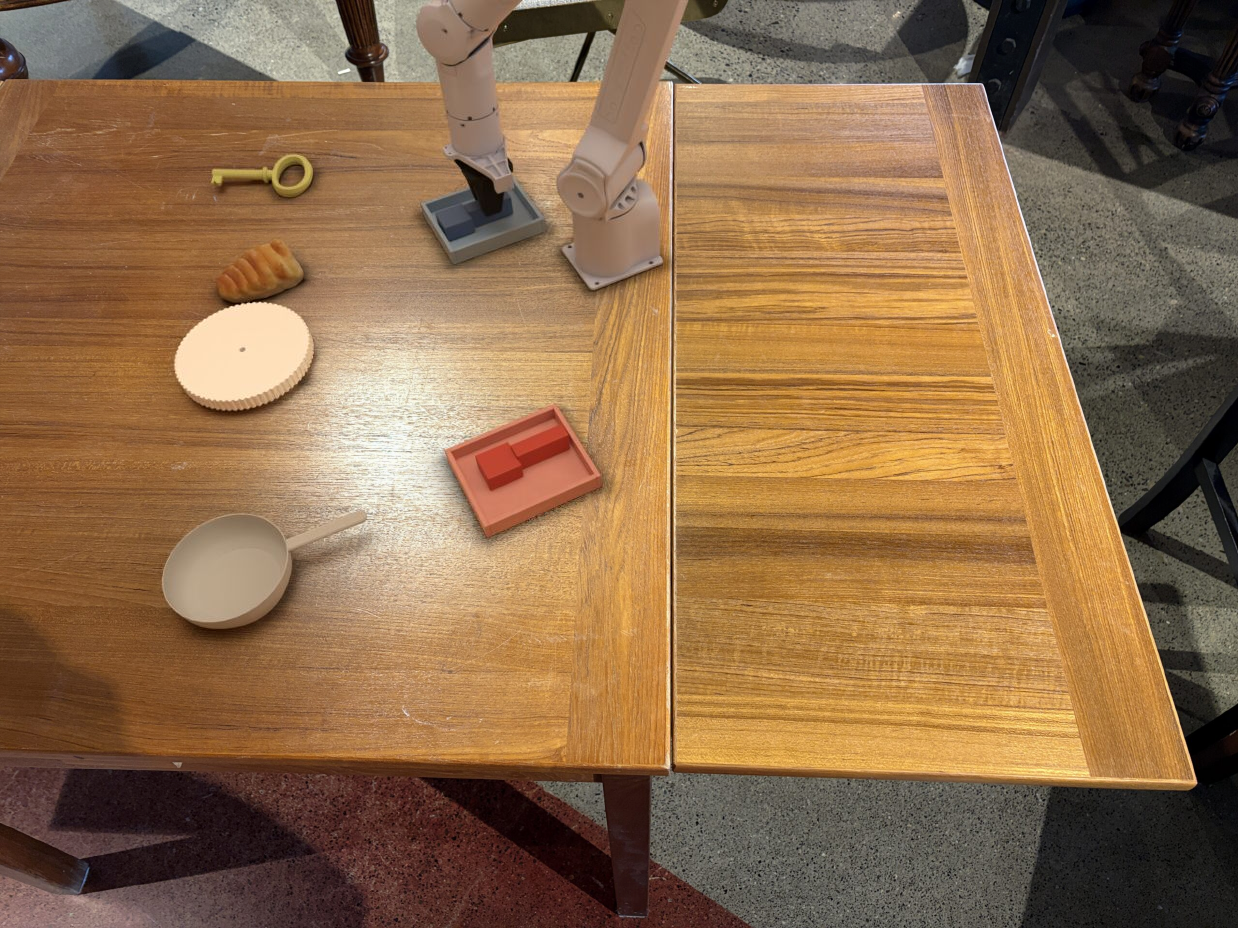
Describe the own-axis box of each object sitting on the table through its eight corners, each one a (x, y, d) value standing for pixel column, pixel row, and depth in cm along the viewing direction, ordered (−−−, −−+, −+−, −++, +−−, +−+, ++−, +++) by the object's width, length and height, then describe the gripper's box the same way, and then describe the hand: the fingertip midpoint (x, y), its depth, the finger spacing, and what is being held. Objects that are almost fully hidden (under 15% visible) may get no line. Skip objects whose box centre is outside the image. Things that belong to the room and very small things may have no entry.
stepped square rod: (505, 202, 110) (503, 186, 108) (516, 217, 108) (514, 201, 106) (438, 226, 108) (434, 209, 106) (447, 241, 106) (444, 225, 104)
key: (213, 182, 114) (206, 168, 112) (309, 158, 117) (304, 144, 115) (221, 217, 110) (214, 203, 109) (320, 191, 113) (315, 177, 111)
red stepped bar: (559, 432, 89) (557, 417, 88) (573, 455, 88) (572, 440, 86) (477, 467, 87) (474, 453, 85) (490, 491, 86) (487, 477, 84)
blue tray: (512, 185, 113) (510, 172, 111) (546, 231, 107) (544, 218, 106) (423, 215, 110) (420, 203, 108) (453, 265, 104) (450, 252, 103)
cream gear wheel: (311, 307, 101) (304, 290, 99) (322, 398, 93) (315, 383, 91) (183, 334, 99) (173, 318, 97) (184, 430, 91) (173, 415, 89)
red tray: (557, 415, 91) (555, 403, 90) (601, 486, 86) (601, 475, 85) (447, 461, 88) (444, 449, 87) (487, 538, 83) (484, 527, 82)
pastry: (236, 318, 100) (223, 293, 97) (211, 286, 103) (197, 261, 100) (311, 280, 103) (300, 254, 100) (284, 250, 107) (273, 225, 103)
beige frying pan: (171, 558, 83) (153, 536, 79) (362, 490, 86) (351, 468, 83) (188, 658, 77) (168, 639, 74) (391, 581, 81) (381, 560, 78)
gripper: (413, 82, 99) (436, 184, 110) (462, 153, 91) (482, 254, 102) (472, 64, 101) (489, 166, 112) (525, 132, 93) (537, 234, 104)
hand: (489, 207), depth 107 cm, fingers closed on stepped square rod, 1 cm apart
